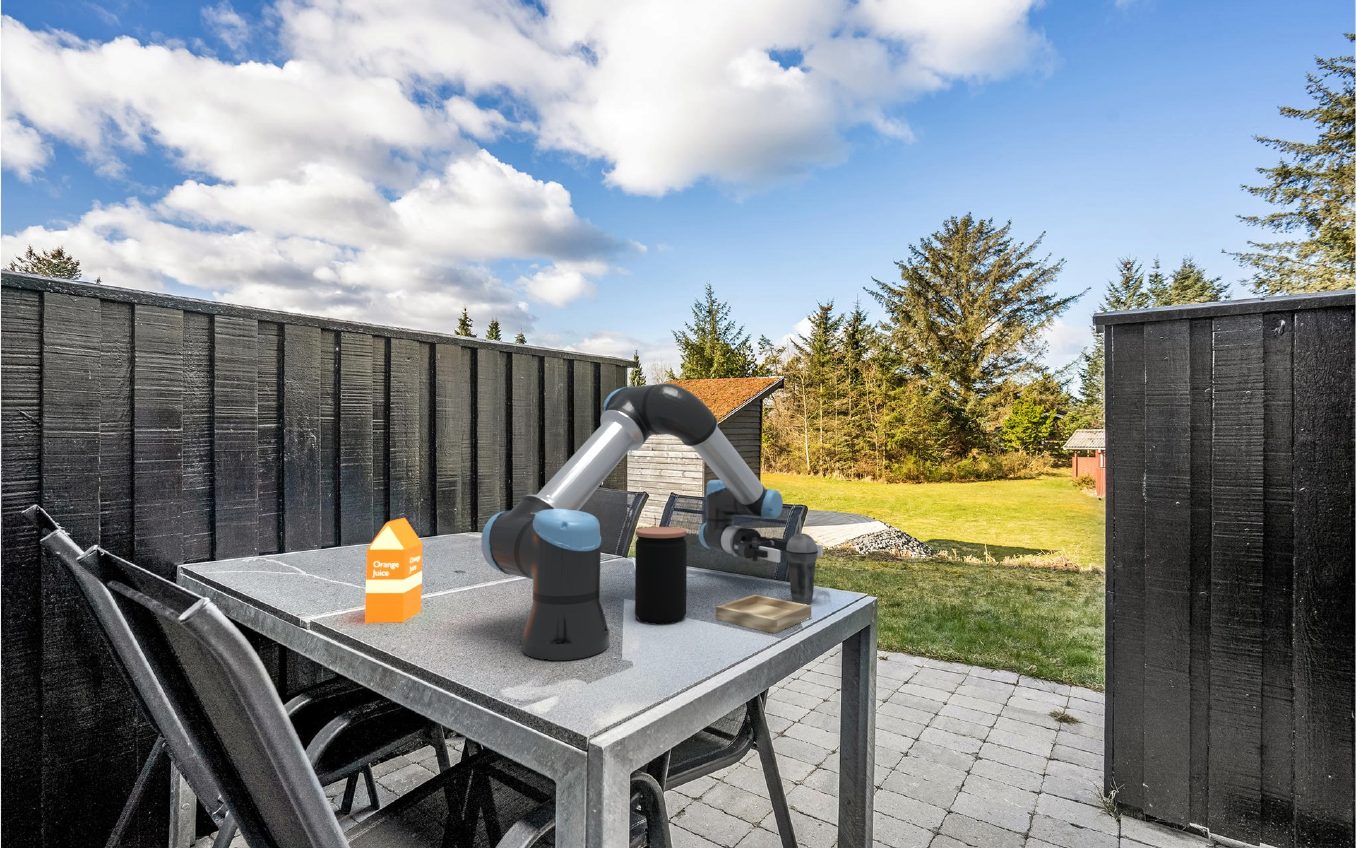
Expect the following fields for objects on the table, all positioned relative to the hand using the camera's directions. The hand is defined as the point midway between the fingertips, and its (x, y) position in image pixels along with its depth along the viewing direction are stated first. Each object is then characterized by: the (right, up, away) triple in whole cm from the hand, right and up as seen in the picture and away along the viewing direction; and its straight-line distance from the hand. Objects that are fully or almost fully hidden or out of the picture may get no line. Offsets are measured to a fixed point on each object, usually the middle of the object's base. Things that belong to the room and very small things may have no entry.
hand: (801, 553), depth 135 cm
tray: (-11, -10, -15) cm, 21 cm away
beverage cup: (0, -11, -1) cm, 11 cm away
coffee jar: (-32, -10, -14) cm, 37 cm away
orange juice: (-87, -10, -14) cm, 89 cm away
